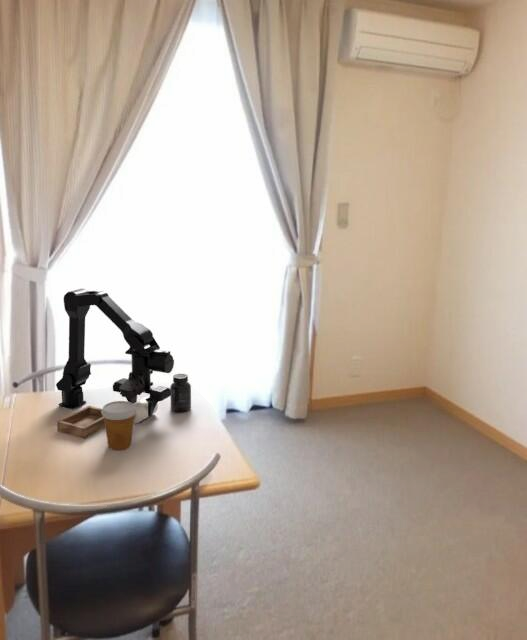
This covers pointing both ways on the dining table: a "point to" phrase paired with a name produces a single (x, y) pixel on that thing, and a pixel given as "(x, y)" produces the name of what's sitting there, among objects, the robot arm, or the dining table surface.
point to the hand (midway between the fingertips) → (141, 414)
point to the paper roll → (142, 410)
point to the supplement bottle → (180, 394)
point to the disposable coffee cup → (119, 424)
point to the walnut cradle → (82, 422)
